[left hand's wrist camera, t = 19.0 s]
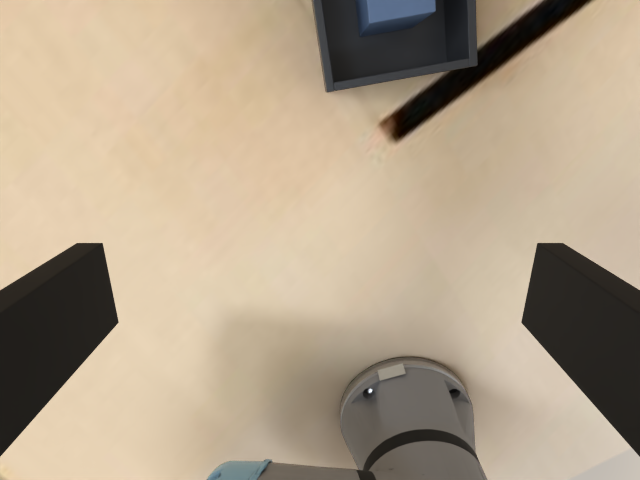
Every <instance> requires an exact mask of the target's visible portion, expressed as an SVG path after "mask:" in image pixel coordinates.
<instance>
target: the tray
mask: <svg viewBox="0 0 640 480" xmlns="http://www.w3.org/2000/svg"><path fill="white" fill-rule="evenodd" d="M312 5H313V12H314V18H315V25H316V32H317V38H318V45H319V51H320V58H321V64H322V71H323V78H324V84H325V91H326V92H331V91H337V90H343V89H348V88H354V87H360V86H365V85H371V84H376V83H382V82H388V81H393V80H399V79H404V78H410V77H416V76H421V75H427V74H433V73H438V72H444V71H449V70H455V69H461V68H466V67H472V66H477V33H476V0H435V5H436V11H435V12H434V13H432V14H431V15H430V16H428V17H427V18H425V19H424V20H423V21H421V22H420V23H418V24H417V25H415V26H414V27H413V28H408V29H403V30H397V31H391V32H386V33H380V34H375V35H369V36H364V37H360V36H359V28H358V19H357V10H356V1H355V0H312Z"/></svg>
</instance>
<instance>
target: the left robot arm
mask: <svg viewBox="0 0 640 480" xmlns="http://www.w3.org/2000/svg"><path fill="white" fill-rule="evenodd" d="M117 324H118V317H117V312H116V307H115V303H114V298H113V293H112V288H111V283H110V278H109V273H108V268H107V263H106V258H105V253H104V248H103V243H77V244H75V245H73V246H72V247H70V248H68V249H67V250H65V251H64V252H62V253H60V254H59V255H57V256H55V257H54V258H52V259H51V260H49V261H47V262H46V263H44V264H42V265H41V266H39V267H38V268H36V269H34V270H33V271H31V272H29V273H28V274H26V275H25V276H23V277H21V278H20V279H18V280H16V281H15V282H13V283H12V284H10V285H8V286H7V287H5V288H3V289H2V290H0V456H1V455H2V454H3V453H4V452H5V451H6V449H7V448H8V447H9V446H10V445H11V444H12V443H13V441H14V440H15V439H16V438H17V437H18V436H19V435H20V434H21V432H22V431H23V430H24V429H25V428H26V427H27V426H28V424H29V423H30V422H31V421H32V420H33V419H34V418H35V417H36V415H37V414H38V413H39V412H40V411H41V410H42V409H43V407H44V406H45V405H46V404H47V403H48V402H49V401H50V400H51V398H52V397H53V396H54V395H55V394H56V393H57V392H58V390H59V389H60V388H61V387H62V386H63V385H64V384H65V383H66V381H67V380H68V379H69V378H70V377H71V376H72V375H73V373H74V372H75V371H76V370H77V369H78V368H79V367H80V365H81V364H82V363H83V362H84V361H85V360H86V359H87V358H88V356H89V355H90V354H91V353H92V352H93V351H94V350H95V348H96V347H97V346H98V345H99V344H100V343H101V342H102V341H103V339H104V338H105V337H106V336H107V335H108V334H109V333H110V331H111V330H112V329H113V328H114V327H115V326H116V325H117ZM522 324H523V325H524V326H525V327H526V328H527V329H528V330H529V331H530V333H531V334H532V335H533V336H534V337H535V338H536V339H537V341H538V342H539V343H540V344H541V345H542V346H543V347H544V348H545V350H546V351H547V352H548V353H549V354H550V355H551V356H552V358H553V359H554V360H555V361H556V362H557V363H558V364H559V365H560V367H561V368H562V369H563V370H564V371H565V372H566V373H567V375H568V376H569V377H570V378H571V379H572V380H573V381H574V383H575V384H576V385H577V386H578V387H579V388H580V389H581V390H582V392H583V393H584V394H585V395H586V396H587V397H588V398H589V400H590V401H591V402H592V403H593V404H594V405H595V406H596V407H597V409H598V410H599V411H600V412H601V413H602V414H603V415H604V417H605V418H606V419H607V420H608V421H609V422H610V423H611V424H612V426H613V427H614V428H615V429H616V430H617V431H618V432H619V434H620V435H621V436H622V437H623V438H624V439H625V440H626V441H627V443H628V444H629V445H630V446H631V447H632V448H633V449H634V451H635V452H636V453H637V454H638V455H639V456H640V290H638V289H637V288H635V287H633V286H632V285H630V284H628V283H627V282H625V281H624V280H622V279H620V278H619V277H617V276H615V275H614V274H612V273H611V272H609V271H607V270H606V269H604V268H602V267H601V266H599V265H598V264H596V263H594V262H593V261H591V260H589V259H588V258H586V257H585V256H583V255H581V254H580V253H578V252H576V251H575V250H573V249H572V248H570V247H568V246H567V245H565V244H563V243H537V248H536V253H535V258H534V263H533V268H532V273H531V278H530V283H529V288H528V293H527V298H526V303H525V307H524V312H523V317H522ZM340 422H341V431H342V434H343V437H344V439H345V442H346V444H347V446H348V448H349V450H350V452H351V454H352V456H353V458H354V460H355V462H356V464H357V467H358V469H359V470H355V469H342V468H328V467H315V466H305V465H294V464H283V463H272V460H269V459H266V460H264V461H263V462H260V461H229V462H226V463H223V464H221V465H220V466H218V467H217V468H216V469H215V470H214V471H213V472H212V473H211V475H210V476H209V477H208V479H207V480H487V478H486V476H485V474H484V471H483V469H482V467H481V465H480V462H479V460H478V458H477V455H476V453H475V435H474V417H473V407H472V403H471V400H470V398H469V396H468V394H467V392H466V390H465V388H464V386H463V384H462V382H461V381H460V379H459V378H458V377H457V376H456V375H455V374H454V373H453V372H452V371H451V370H449V369H448V368H446V367H445V366H443V365H441V364H439V363H436V362H434V361H431V360H427V359H423V358H415V357H402V358H394V359H390V360H386V361H383V362H380V363H377V364H375V365H373V366H371V367H369V368H368V369H366V370H364V371H363V372H362V373H360V374H359V375H358V376H357V377H356V378H355V379H354V380H353V381H352V382H351V383H350V385H349V386H348V387H347V389H346V391H345V393H344V395H343V397H342V400H341V405H340Z"/></svg>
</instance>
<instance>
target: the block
mask: <svg viewBox="0 0 640 480" xmlns="http://www.w3.org/2000/svg"><path fill="white" fill-rule="evenodd" d="M355 1H356V10H357V19H358V28H359V36H360V37H364V36H369V35H375V34H380V33H386V32H391V31H397V30H403V29H408V28H413V27H414V26H415V25H417V24H418V23H420V22H421V21H423V20H424V19H425V18H427V17H428V16H430V15H431V14H432V13H434V12H435V11H436V5H435V0H355Z"/></svg>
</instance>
